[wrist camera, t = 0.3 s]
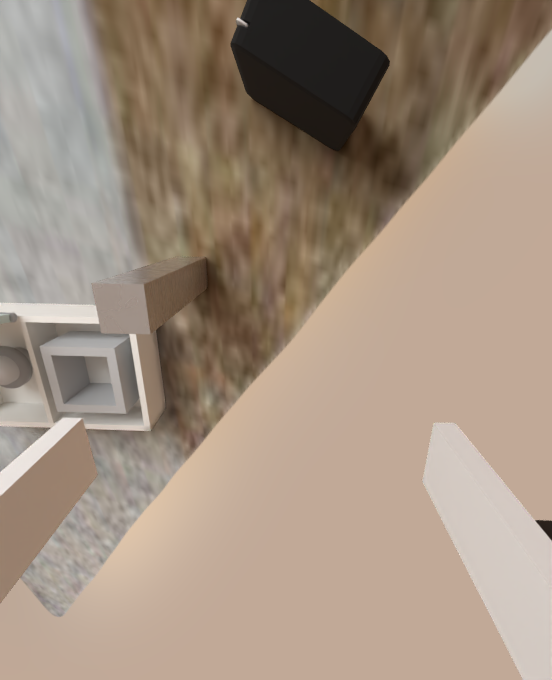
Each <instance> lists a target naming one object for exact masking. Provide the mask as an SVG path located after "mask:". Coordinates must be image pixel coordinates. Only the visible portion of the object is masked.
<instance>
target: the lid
mask: <svg viewBox="0 0 552 680" xmlns="http://www.w3.org/2000/svg"><path fill="white" fill-rule="evenodd" d="M16 321H17V315H16V314H15V313H5V312H0V324H3V323H8V322H16Z"/></svg>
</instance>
